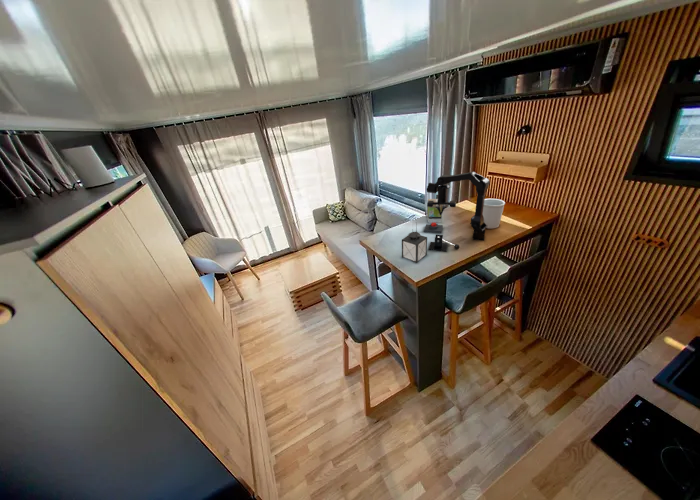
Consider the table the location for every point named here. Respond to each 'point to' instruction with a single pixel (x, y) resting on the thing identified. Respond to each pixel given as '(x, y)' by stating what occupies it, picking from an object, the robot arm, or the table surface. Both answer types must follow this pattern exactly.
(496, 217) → the utensil holder
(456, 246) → the lever
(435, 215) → the tea box
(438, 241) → the bracket
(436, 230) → the button block
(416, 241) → the lantern
